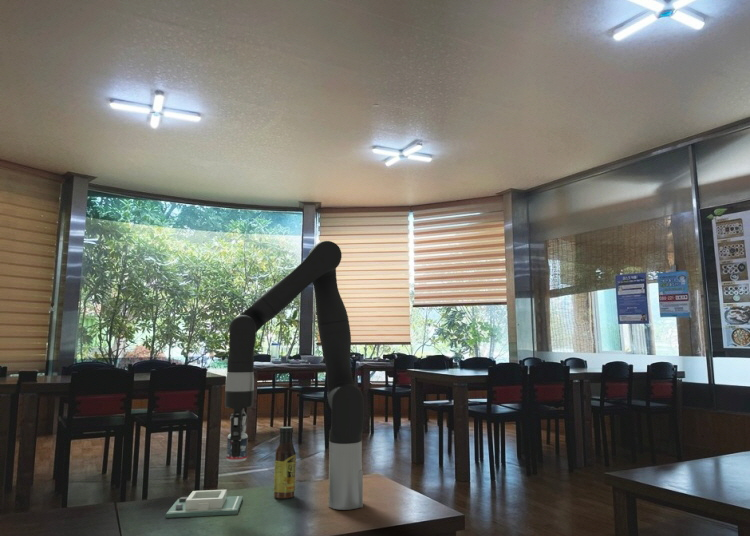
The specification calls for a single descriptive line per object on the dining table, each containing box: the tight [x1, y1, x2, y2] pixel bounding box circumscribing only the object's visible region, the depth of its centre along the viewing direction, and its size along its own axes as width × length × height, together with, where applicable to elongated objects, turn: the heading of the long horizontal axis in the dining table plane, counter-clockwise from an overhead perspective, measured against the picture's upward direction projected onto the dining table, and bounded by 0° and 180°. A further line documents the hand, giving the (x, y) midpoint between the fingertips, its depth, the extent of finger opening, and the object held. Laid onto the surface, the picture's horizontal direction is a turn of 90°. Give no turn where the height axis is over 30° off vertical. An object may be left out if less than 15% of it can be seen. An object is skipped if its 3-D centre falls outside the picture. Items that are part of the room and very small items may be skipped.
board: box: [165, 489, 244, 519], centre depth 140 cm, size 18×14×4 cm
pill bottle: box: [225, 425, 249, 463], centre depth 135 cm, size 5×5×9 cm
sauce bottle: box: [273, 426, 297, 500], centre depth 152 cm, size 6×6×20 cm
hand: (236, 454), depth 135 cm, fingers closed on pill bottle, 5 cm apart
